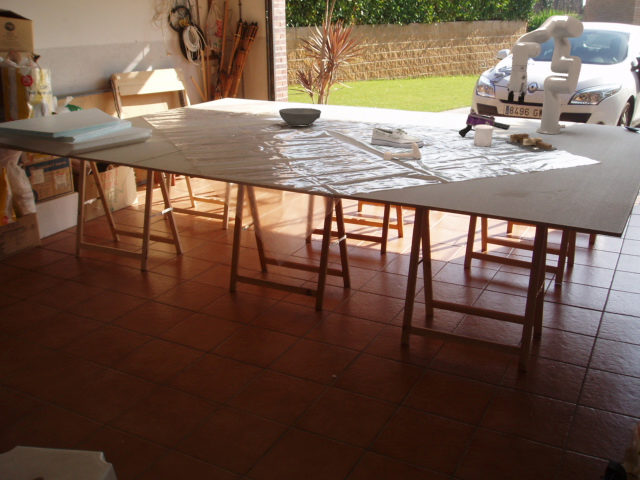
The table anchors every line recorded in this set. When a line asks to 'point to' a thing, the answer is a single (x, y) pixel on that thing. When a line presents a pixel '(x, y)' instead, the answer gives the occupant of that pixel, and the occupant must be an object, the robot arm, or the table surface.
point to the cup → (483, 135)
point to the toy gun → (481, 123)
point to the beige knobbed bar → (415, 154)
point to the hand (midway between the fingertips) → (515, 102)
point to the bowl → (299, 115)
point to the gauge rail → (525, 136)
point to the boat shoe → (394, 138)
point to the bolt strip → (529, 146)
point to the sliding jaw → (531, 141)
